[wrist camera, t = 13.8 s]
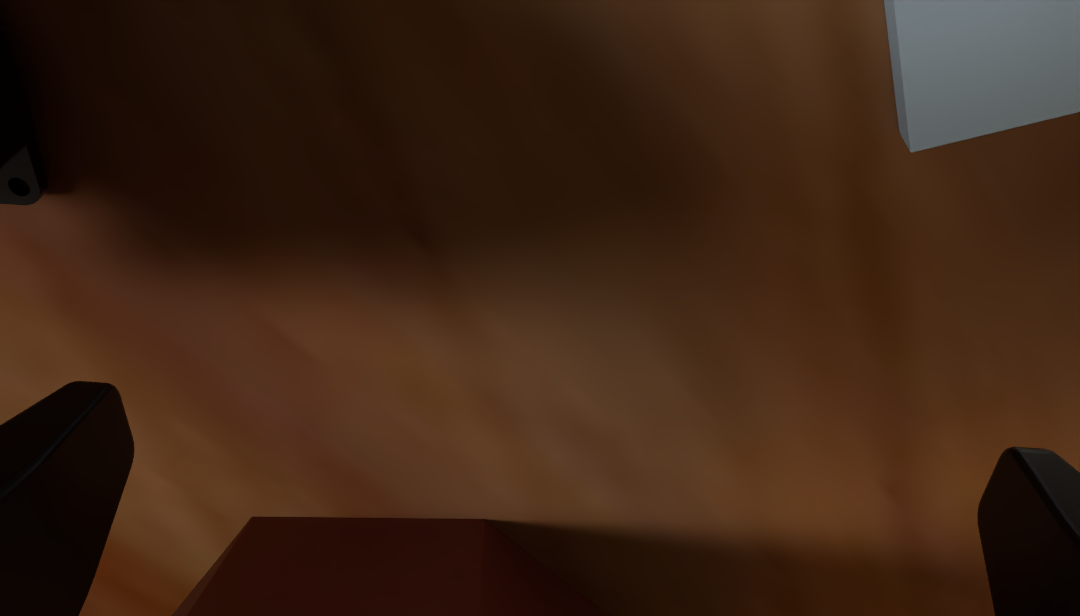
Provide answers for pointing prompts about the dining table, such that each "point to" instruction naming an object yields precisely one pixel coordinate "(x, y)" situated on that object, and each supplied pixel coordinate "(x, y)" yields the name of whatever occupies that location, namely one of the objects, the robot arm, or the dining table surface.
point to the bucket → (379, 572)
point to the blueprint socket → (981, 66)
